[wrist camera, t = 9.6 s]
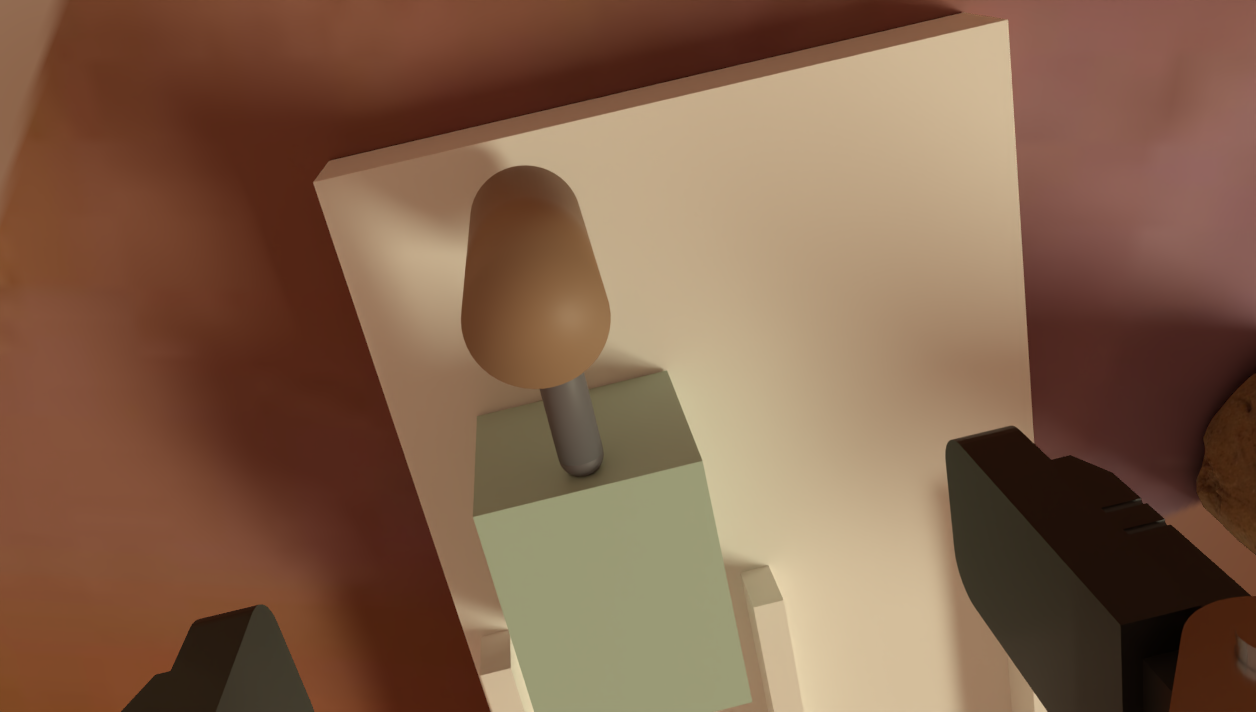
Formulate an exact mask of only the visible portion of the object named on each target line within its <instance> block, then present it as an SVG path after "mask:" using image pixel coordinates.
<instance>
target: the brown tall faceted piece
mask: <svg viewBox="0 0 1256 712" xmlns="http://www.w3.org/2000/svg"><path fill="white" fill-rule="evenodd" d="M1203 440H1204V445H1205V455H1204V460H1203V464H1202V468H1201V470H1200V473H1199V475H1198V477H1197V479H1196V485H1197V494H1198V496H1199V498H1200V500H1201V502H1202V505H1203V507H1204V508H1205V509H1207V510H1208V511H1209V512H1210V513H1211V514H1212V515H1213V516H1214V517H1215V518H1216V519H1217V520H1218V521H1219V522H1220V523H1221V524H1223V526H1224V527H1225V528H1226V529H1227V530H1228V531H1229V532H1230V533H1231V534H1232V535H1233V536H1234V537H1235V538H1237V540H1239V541H1240V542H1241V543H1242V544H1243V545H1244V546H1246V547H1247V548H1248V549H1249V550H1250V551H1252V552H1253V553H1254V554H1255V555H1256V373H1255V374H1253V375H1252V376H1250V377H1249V378H1248V379H1247V380H1246V381H1245V382H1244V383H1243V384H1242V385H1241V386H1240V387H1239V388H1238V389H1237V390H1236V391H1235V392H1234V393H1233V394H1232V395H1231V397H1230V398H1229V399H1228V400H1227V401H1226V402H1225V404H1224V405H1223V406H1222V407H1221V409H1220V410H1219V411H1218V412H1217V413H1216V415H1215V416H1214V417H1213V418H1212V420H1211V422H1210V424H1209V426H1208V428H1207V430H1206V433H1205V435H1204V437H1203Z"/></svg>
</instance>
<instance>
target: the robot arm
mask: <svg viewBox="0 0 1256 712" xmlns="http://www.w3.org/2000/svg"><path fill="white" fill-rule="evenodd" d="M945 460H946V471H947V481H948V491H949V501H950V511H951V521H952V532H953V542H954V551H955V557H956V562H957V566H958V570H959V574H960V577H961V580H962V583H963V585H964V588H965V590H966V592H967V594H968V597H969V599H970V600H971V602H972V604H973V605H974V607H975V608H976V610H977V611H978V613H979V614H980V616H981V617H982V619H983V620H984V621H985V623H986V624H987V626H988V627H989V629H990V630H991V631H992V633H993V634H994V636H995V637H996V639H997V640H998V641H999V643H1000V644H1001V646H1002V647H1003V649H1004V650H1005V651H1006V653H1007V654H1008V656H1009V657H1010V659H1011V660H1012V661H1013V663H1014V664H1015V666H1016V667H1017V669H1018V670H1019V671H1020V673H1021V674H1022V676H1023V677H1024V679H1025V680H1026V681H1027V683H1028V684H1029V686H1030V687H1031V689H1032V690H1033V692H1034V693H1035V694H1036V696H1037V697H1038V699H1039V700H1040V702H1041V703H1042V704H1043V706H1044V707H1045V709H1046V710H1047V712H1256V596H1251V595H1250V594H1248V593H1247V592H1246V591H1245V590H1244V589H1243V588H1242V587H1241V586H1239V585H1238V584H1237V583H1236V582H1235V581H1234V580H1233V579H1232V578H1230V577H1229V576H1228V575H1227V574H1226V573H1225V572H1224V571H1222V570H1221V569H1220V568H1219V567H1218V566H1217V565H1216V564H1215V563H1214V562H1212V561H1211V560H1210V559H1209V558H1208V557H1207V556H1206V555H1204V554H1203V553H1202V552H1201V551H1200V550H1199V549H1198V548H1197V547H1195V546H1194V545H1193V544H1192V543H1191V542H1190V541H1189V540H1188V539H1186V538H1185V537H1184V536H1183V535H1182V534H1181V533H1180V532H1179V531H1177V530H1176V529H1175V528H1174V527H1173V526H1172V525H1166V523H1165V519H1164V518H1163V517H1162V516H1161V515H1159V514H1158V513H1157V512H1156V511H1155V510H1154V509H1153V508H1152V507H1150V506H1149V505H1148V504H1147V503H1146V504H1143V503H1142V501H1141V498H1140V497H1139V496H1138V495H1137V494H1136V493H1135V492H1133V491H1132V490H1131V489H1130V488H1129V487H1128V486H1127V485H1126V484H1124V483H1123V482H1122V481H1121V480H1120V479H1119V478H1118V477H1117V476H1115V475H1114V474H1113V473H1111V472H1109V471H1107V470H1104V469H1102V468H1099V467H1097V466H1095V465H1092V464H1090V463H1087V462H1085V461H1083V460H1080V459H1078V458H1075V457H1073V456H1071V455H1070V456H1066V457H1062V458H1057V459H1053V460H1051V459H1049V458H1048V457H1047V456H1046V455H1045V454H1044V453H1043V452H1042V451H1041V450H1040V449H1039V448H1038V447H1037V446H1036V445H1035V444H1034V443H1033V442H1032V441H1031V440H1030V439H1029V438H1028V437H1027V436H1026V435H1025V434H1024V433H1022V432H1021V431H1020V430H1019V429H1018V428H1017V427H1015V426H1006V427H1002V428H998V429H994V430H990V431H985V432H981V433H977V434H973V435H969V436H965V437H961V438H956V439H952V440H950V441H948V443H947V445H946V450H945ZM121 712H314V710H313V707H312V704H311V702H310V699H309V697H308V695H307V692H306V690H305V688H304V685H303V683H302V680H301V678H300V676H299V673H298V671H297V668H296V666H295V664H294V661H293V659H292V657H291V654H290V652H289V649H288V647H287V645H286V642H285V640H284V638H283V635H282V633H281V630H280V628H279V626H278V623H277V621H276V619H275V617H274V615H273V614H272V612H271V611H270V609H269V608H268V607H266V606H265V605H256V606H252V607H248V608H244V609H239V610H235V611H231V612H227V613H223V614H219V615H215V616H210V617H206V618H202V619H198V620H196V621H195V622H194V623H193V624H192V626H191V627H190V629H189V632H188V634H187V636H186V638H185V640H184V643H183V645H182V647H181V649H180V652H179V654H178V656H177V658H176V660H175V663H174V665H173V667H172V669H171V671H169V672H165V673H161V674H157V675H155V676H154V677H153V678H152V679H151V680H150V681H149V682H148V683H147V684H146V685H145V686H144V688H143V689H142V690H141V691H140V692H139V693H138V694H137V695H136V696H135V697H134V698H133V699H132V700H131V701H130V703H129V704H128V705H127V706H126V707H125V708H124V709H123V710H122V711H121Z"/></svg>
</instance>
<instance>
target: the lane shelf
mask: <svg viewBox="0 0 1256 712" xmlns="http://www.w3.org/2000/svg"><path fill="white" fill-rule="evenodd" d="M521 165H529V166H537V167H541V168H544V169H547V170H549V171H551V172H553V173H555V174H556V175H558V176H559V177H560V178H562V179H563V180H564V181H565V182H566V183H567V184H568V185H569V187H570V188H571V189H572V191H573V192H574V194H575V196H576V198H577V200H578V204H579V207H580V210H581V213H582V217H583V220H584V223H585V226H586V230H587V233H588V236H589V239H590V243H591V246H592V249H593V252H594V256H595V259H596V262H597V265H598V269H599V272H600V275H601V278H602V282H603V285H604V288H605V291H606V295H607V298H608V301H609V306H610V312H611V323H610V331H609V335H608V339H607V341H606V344H605V346H604V348H603V350H602V352H601V353H600V355H599V357H598V358H597V359H596V361H595V362H594V363H593V364H592V365H591V366H590V367H589V368H588V369H587V370H586V371H585V372H584V374H585V378H586V382H587V386H588V389H592V388H596V387H600V386H605V385H609V384H613V383H617V382H621V381H625V380H629V379H634V378H638V377H642V376H646V375H650V374H654V373H658V372H662V371H667V372H668V374H669V377H670V379H671V382H672V384H673V387H674V389H675V392H676V395H677V397H678V400H679V402H680V405H681V407H682V410H683V412H684V415H685V417H686V420H687V423H688V425H689V428H690V430H691V433H692V435H693V438H694V440H695V443H696V445H697V448H698V451H699V453H700V456H701V458H702V461H703V465H704V470H705V475H706V480H707V485H708V490H709V494H710V499H711V504H712V509H713V514H714V519H715V523H716V528H717V533H718V538H719V543H720V548H721V553H722V557H723V562H724V567H725V572H726V577H727V582H728V586H729V591H730V596H731V601H732V606H733V611H734V615H735V620H736V625H737V630H738V635H739V640H740V644H741V649H742V654H743V659H744V664H745V669H746V674H747V678H748V683H749V688H750V693H751V698H752V702H751V703H747V704H743V705H739V706H735V707H731V708H727V709H723V710H719V711H715V712H1047V710H1046V709H1045V707H1044V706H1043V704H1042V703H1041V702H1040V700H1039V699H1038V697H1037V696H1036V694H1035V693H1034V692H1033V690H1032V689H1031V687H1030V686H1029V684H1028V683H1027V681H1026V680H1025V679H1024V677H1023V676H1022V674H1021V673H1020V671H1019V670H1018V669H1017V667H1016V666H1015V664H1014V663H1013V661H1012V660H1011V659H1010V657H1009V656H1008V654H1007V653H1006V651H1005V650H1004V649H1003V647H1002V646H1001V644H1000V643H999V641H998V640H997V639H996V637H995V636H994V634H993V633H992V631H991V630H990V629H989V627H988V626H987V624H986V623H985V621H984V620H983V619H982V617H981V616H980V614H979V613H978V611H977V610H976V608H975V607H974V605H973V604H972V602H971V600H970V599H969V597H968V594H967V592H966V590H965V588H964V585H963V583H962V580H961V577H960V574H959V570H958V566H957V562H956V557H955V551H954V542H953V532H952V521H951V511H950V501H949V491H948V481H947V471H946V460H945V450H946V445H947V443H948V441H950V440H952V439H956V438H961V437H965V436H969V435H973V434H977V433H981V432H985V431H990V430H994V429H998V428H1002V427H1006V426H1015V427H1017V428H1018V429H1019V430H1020V431H1021V432H1022V433H1024V434H1025V435H1026V436H1027V437H1028V438H1029V439H1030V440H1031V441H1032V442H1033V443H1034V432H1033V416H1032V400H1031V384H1030V368H1029V352H1028V336H1027V319H1026V303H1025V287H1024V271H1023V255H1022V239H1021V223H1020V206H1019V190H1018V174H1017V158H1016V142H1015V126H1014V110H1013V93H1012V77H1011V61H1010V45H1009V29H1008V19H1001V18H995V17H989V16H983V15H977V14H971V13H965V12H963V13H959V14H955V15H951V16H946V17H942V18H938V19H933V20H929V21H925V22H921V23H916V24H912V25H908V26H903V27H899V28H895V29H891V30H886V31H882V32H878V33H874V34H869V35H865V36H861V37H856V38H852V39H848V40H844V41H839V42H835V43H831V44H827V45H822V46H818V47H814V48H809V49H805V50H801V51H797V52H792V53H788V54H784V55H779V56H775V57H771V58H767V59H762V60H758V61H754V62H750V63H745V64H741V65H737V66H732V67H728V68H724V69H720V70H715V71H711V72H707V73H702V74H698V75H694V76H690V77H685V78H681V79H677V80H673V81H668V82H664V83H660V84H655V85H651V86H647V87H643V88H638V89H634V90H630V91H625V92H621V93H617V94H613V95H608V96H604V97H600V98H596V99H591V100H587V101H583V102H578V103H574V104H570V105H566V106H561V107H557V108H553V109H548V110H544V111H540V112H536V113H531V114H527V115H523V116H519V117H514V118H510V119H506V120H501V121H497V122H493V123H489V124H484V125H480V126H476V127H471V128H467V129H463V130H459V131H454V132H450V133H446V134H442V135H437V136H433V137H429V138H424V139H420V140H416V141H412V142H407V143H403V144H399V145H395V146H390V147H386V148H382V149H377V150H373V151H369V152H365V153H360V154H356V155H352V156H347V157H343V158H339V159H335V160H330V161H329V162H328V163H327V164H326V166H325V167H324V168H323V170H322V171H321V172H320V174H319V175H318V176H317V178H316V179H315V180H314V182H313V184H314V187H315V190H316V193H317V196H318V199H319V202H320V205H321V208H322V211H323V214H324V217H325V220H326V223H327V226H328V229H329V232H330V235H331V238H332V241H333V244H334V247H335V250H336V253H337V256H338V259H339V262H340V265H341V267H342V270H343V273H344V276H345V279H346V282H347V285H348V288H349V291H350V294H351V297H352V300H353V303H354V306H355V309H356V312H357V315H358V318H359V321H360V324H361V327H362V330H363V333H364V336H365V339H366V342H367V345H368V348H369V351H370V354H371V357H372V360H373V363H374V366H375V369H376V372H377V375H378V378H379V381H380V384H381V387H382V390H383V393H384V396H385V399H386V402H387V405H388V408H389V411H390V414H391V417H392V420H393V423H394V426H395V428H396V431H397V434H398V437H399V440H400V443H401V446H402V449H403V452H404V455H405V458H406V461H407V464H408V467H409V470H410V473H411V476H412V479H413V482H414V485H415V488H416V491H417V494H418V497H419V500H420V503H421V506H422V509H423V512H424V515H425V518H426V521H427V524H428V527H429V530H430V533H431V536H432V539H433V542H434V545H435V548H436V551H437V554H438V557H439V560H440V563H441V566H442V569H443V572H444V575H445V578H446V581H447V584H448V587H449V589H450V592H451V595H452V598H453V601H454V604H455V607H456V610H457V613H458V616H459V619H460V622H461V625H462V628H463V631H464V634H465V637H466V640H467V643H468V646H469V649H470V652H471V655H472V658H473V661H474V664H475V667H476V670H477V673H478V676H479V679H480V682H481V685H482V688H483V691H484V694H485V697H486V700H487V703H488V706H489V709H490V712H534V710H533V707H532V704H531V701H530V697H529V694H528V691H527V688H526V685H525V681H524V678H523V675H522V672H521V669H520V666H519V662H518V659H517V656H516V653H515V650H514V646H513V643H512V640H511V637H510V634H509V630H508V627H507V624H506V621H505V618H504V615H503V611H502V608H501V605H500V602H499V599H498V595H497V592H496V589H495V586H494V583H493V580H492V576H491V573H490V570H489V567H488V564H487V560H486V557H485V554H484V551H483V548H482V545H481V541H480V538H479V535H478V532H477V529H476V525H475V522H474V519H473V502H474V477H475V452H476V427H477V416H481V415H485V414H489V413H493V412H497V411H501V410H505V409H509V408H514V407H518V406H522V405H526V404H530V403H534V402H538V401H543V400H542V397H541V393H540V389H525V388H520V387H515V386H512V385H509V384H506V383H504V382H502V381H499V380H497V379H496V378H494V377H493V376H491V375H490V374H488V373H487V372H486V371H485V370H483V369H482V368H481V367H480V366H479V364H478V363H477V362H476V361H475V360H474V358H473V357H472V355H471V354H470V352H469V350H468V348H467V346H466V344H465V341H464V338H463V334H462V329H461V309H462V298H463V288H464V277H465V266H466V256H467V245H468V234H469V223H470V213H471V207H472V203H473V201H474V198H475V196H476V194H477V192H478V191H479V189H480V188H481V186H482V185H483V184H484V183H485V182H486V181H487V180H488V179H489V178H490V177H492V176H493V175H494V174H496V173H498V172H500V171H502V170H504V169H507V168H510V167H514V166H521Z"/></svg>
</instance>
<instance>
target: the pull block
mask: <svg viewBox="0 0 1256 712" xmlns="http://www.w3.org/2000/svg"><path fill="white" fill-rule="evenodd" d="M610 323H611V312H610V306H609V301H608V298H607V295H606V291H605V288H604V285H603V282H602V278H601V275H600V272H599V269H598V265H597V262H596V259H595V256H594V252H593V249H592V246H591V243H590V239H589V236H588V233H587V230H586V226H585V223H584V220H583V217H582V213H581V210H580V207H579V204H578V200H577V198H576V196H575V194H574V192H573V191H572V189H571V188H570V187H569V185H568V184H567V183H566V182H565V181H564V180H563V179H562V178H560V177H559V176H558V175H556V174H555V173H553V172H551V171H549V170H547V169H544V168H541V167H537V166H529V165H521V166H514V167H510V168H507V169H504V170H502V171H500V172H498V173H496V174H494V175H493V176H492V177H490V178H489V179H488V180H487V181H486V182H485V183H484V184H483V185H482V186H481V188H480V189H479V191H478V192H477V194H476V196H475V198H474V201H473V203H472V207H471V213H470V223H469V234H468V245H467V256H466V266H465V277H464V288H463V298H462V309H461V329H462V334H463V338H464V341H465V344H466V346H467V348H468V350H469V352H470V354H471V355H472V357H473V358H474V360H475V361H476V362H477V363H478V364H479V366H480V367H481V368H482V369H483V370H485V371H486V372H487V373H488V374H490V375H491V376H493V377H494V378H496V379H497V380H499V381H502V382H504V383H506V384H509V385H512V386H515V387H520V388H525V389H540V393H541V397H542V400H543V401H538V402H534V403H530V404H526V405H522V406H518V407H514V408H509V409H505V410H501V411H497V412H493V413H489V414H485V415H481V416H477V427H476V452H475V477H474V502H473V519H474V522H475V525H476V529H477V532H478V535H479V538H480V541H481V545H482V548H483V551H484V554H485V557H486V560H487V564H488V567H489V570H490V573H491V576H492V580H493V583H494V586H495V589H496V592H497V595H498V599H499V602H500V605H501V608H502V611H503V615H504V618H505V621H506V624H507V627H508V630H509V634H510V637H511V640H512V643H513V646H514V650H515V653H516V656H517V659H518V662H519V666H520V669H521V672H522V675H523V678H524V681H525V685H526V688H527V691H528V694H529V697H530V701H531V704H532V707H533V710H534V712H715V711H719V710H723V709H727V708H731V707H735V706H739V705H743V704H747V703H751V702H752V698H751V693H750V688H749V683H748V678H747V674H746V669H745V664H744V659H743V654H742V649H741V644H740V640H739V635H738V630H737V625H736V620H735V615H734V611H733V606H732V601H731V596H730V591H729V586H728V582H727V577H726V572H725V567H724V562H723V557H722V553H721V548H720V543H719V538H718V533H717V528H716V523H715V519H714V514H713V509H712V504H711V499H710V494H709V490H708V485H707V480H706V475H705V470H704V465H703V461H702V458H701V456H700V453H699V451H698V448H697V445H696V443H695V440H694V438H693V435H692V433H691V430H690V428H689V425H688V423H687V420H686V417H685V415H684V412H683V410H682V407H681V405H680V402H679V400H678V397H677V395H676V392H675V389H674V387H673V384H672V382H671V379H670V377H669V374H668V372H667V371H662V372H658V373H654V374H650V375H646V376H642V377H638V378H634V379H629V380H625V381H621V382H617V383H613V384H609V385H605V386H600V387H596V388H592V389H588V386H587V382H586V378H585V374H584V372H585V371H586V370H587V369H588V368H589V367H590V366H591V365H592V364H593V363H594V362H595V361H596V359H597V358H598V357H599V355H600V353H601V352H602V350H603V348H604V346H605V344H606V341H607V339H608V335H609V331H610Z"/></svg>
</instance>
